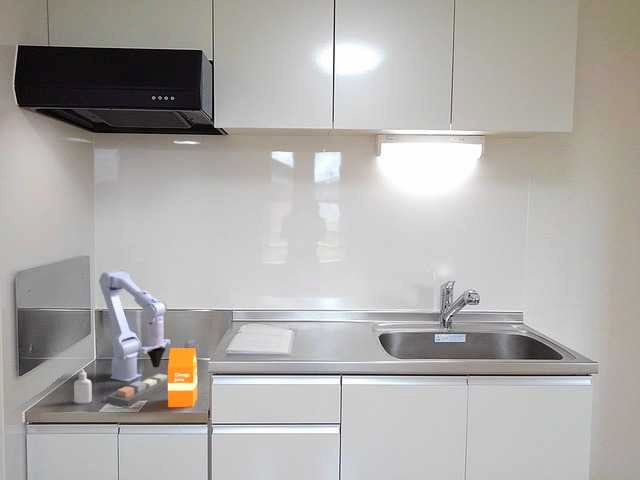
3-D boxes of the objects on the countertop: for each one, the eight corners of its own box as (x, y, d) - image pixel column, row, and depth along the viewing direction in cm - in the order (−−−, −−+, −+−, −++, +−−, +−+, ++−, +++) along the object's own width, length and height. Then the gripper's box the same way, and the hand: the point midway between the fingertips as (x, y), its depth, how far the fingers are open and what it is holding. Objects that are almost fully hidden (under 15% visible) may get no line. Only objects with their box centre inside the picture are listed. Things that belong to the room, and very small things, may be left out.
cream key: (141, 388, 184) (141, 382, 184) (149, 384, 188) (149, 378, 188) (149, 390, 183) (149, 383, 182) (157, 386, 186) (157, 380, 186)
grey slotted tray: (106, 401, 172) (106, 396, 172) (157, 377, 196) (157, 373, 196) (128, 406, 169) (127, 400, 168) (176, 381, 192) (176, 377, 192)
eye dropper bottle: (82, 406, 168) (81, 372, 167) (72, 402, 171) (72, 369, 170) (93, 401, 172) (93, 369, 171) (84, 398, 175) (83, 366, 174)
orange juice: (172, 398, 176) (172, 345, 175) (197, 398, 177) (197, 345, 176) (167, 407, 169) (167, 351, 167) (193, 406, 169) (193, 351, 168)
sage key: (152, 383, 190) (152, 377, 189) (159, 379, 193) (159, 373, 193) (160, 384, 188) (160, 378, 188) (167, 381, 192) (167, 375, 192)
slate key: (129, 391, 179) (129, 384, 178) (137, 387, 182) (137, 380, 182) (138, 392, 177) (138, 386, 177) (145, 389, 181) (145, 382, 180)
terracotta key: (117, 396, 173) (117, 390, 173) (125, 392, 177) (125, 386, 176) (125, 398, 171) (125, 391, 171) (134, 394, 175) (134, 388, 175)
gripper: (151, 338, 179) (151, 374, 180) (176, 329, 192) (176, 362, 193) (136, 336, 181) (136, 371, 182) (162, 327, 195) (162, 360, 196)
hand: (156, 366), depth 188 cm, fingers closed
